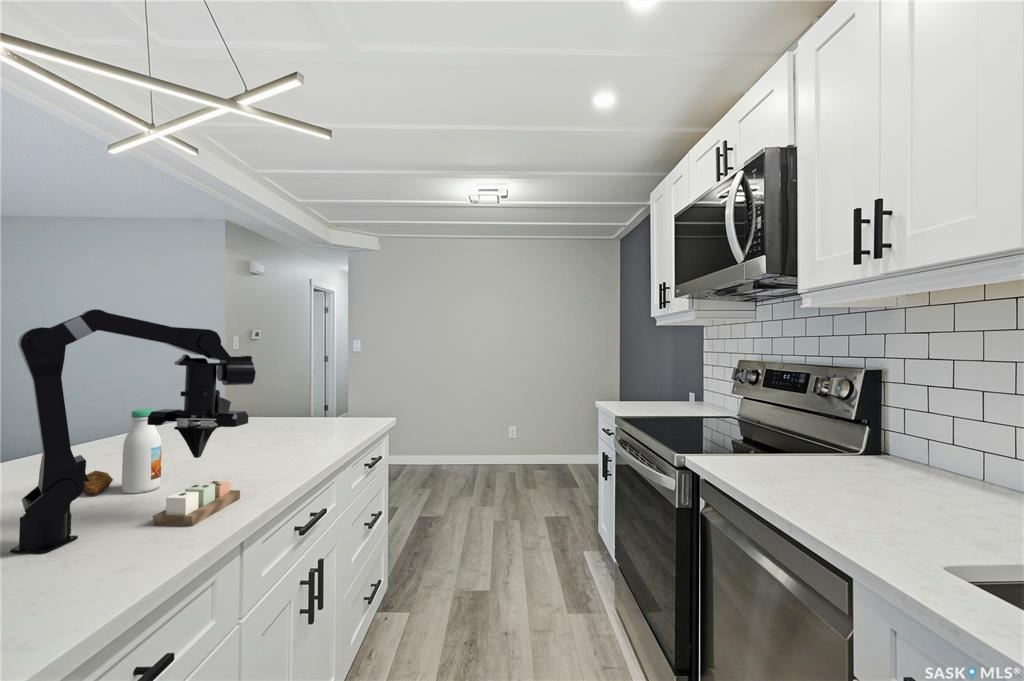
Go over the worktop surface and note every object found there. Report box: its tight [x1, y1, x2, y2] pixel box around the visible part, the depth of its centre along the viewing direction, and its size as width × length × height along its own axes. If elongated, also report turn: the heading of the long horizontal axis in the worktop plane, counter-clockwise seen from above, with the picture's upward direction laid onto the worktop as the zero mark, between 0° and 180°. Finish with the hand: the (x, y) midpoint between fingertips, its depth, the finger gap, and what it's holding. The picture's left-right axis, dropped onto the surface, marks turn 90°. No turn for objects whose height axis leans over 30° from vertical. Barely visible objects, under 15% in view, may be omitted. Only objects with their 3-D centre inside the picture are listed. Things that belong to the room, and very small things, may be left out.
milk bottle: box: [121, 408, 162, 494], centre depth 119 cm, size 8×8×20 cm
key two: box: [184, 483, 215, 506], centre depth 105 cm, size 4×4×4 cm
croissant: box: [83, 470, 114, 497], centre depth 118 cm, size 14×7×5 cm, turn 37°
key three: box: [208, 480, 231, 497], centre depth 110 cm, size 4×4×4 cm
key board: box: [152, 489, 241, 527], centre depth 105 cm, size 17×8×2 cm, turn 0°
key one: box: [165, 491, 199, 515], centre depth 99 cm, size 4×4×4 cm
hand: (197, 457), depth 104 cm, fingers closed
